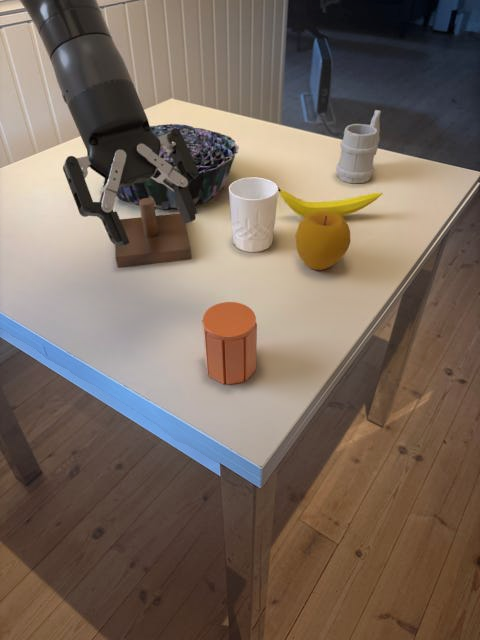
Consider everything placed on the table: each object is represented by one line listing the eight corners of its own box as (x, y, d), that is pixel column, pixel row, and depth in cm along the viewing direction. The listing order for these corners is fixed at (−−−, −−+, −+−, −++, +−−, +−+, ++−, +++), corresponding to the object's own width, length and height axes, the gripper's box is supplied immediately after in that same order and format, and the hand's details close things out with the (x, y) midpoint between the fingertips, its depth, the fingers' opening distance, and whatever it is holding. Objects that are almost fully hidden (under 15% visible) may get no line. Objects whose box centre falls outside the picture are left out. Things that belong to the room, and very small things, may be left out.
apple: (334, 287, 74) (342, 237, 68) (284, 271, 77) (287, 222, 72) (353, 259, 80) (361, 210, 74) (305, 245, 83) (310, 198, 77)
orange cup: (210, 387, 59) (206, 340, 54) (203, 352, 64) (199, 305, 59) (259, 379, 60) (261, 332, 55) (249, 345, 65) (249, 298, 60)
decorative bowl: (144, 161, 114) (135, 118, 107) (256, 169, 105) (254, 121, 99) (83, 213, 95) (67, 164, 89) (212, 227, 87) (205, 174, 81)
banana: (379, 221, 89) (386, 189, 85) (275, 223, 89) (277, 191, 84) (375, 213, 91) (382, 181, 87) (274, 215, 91) (275, 183, 86)
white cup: (280, 233, 86) (282, 180, 79) (270, 257, 80) (272, 202, 74) (237, 227, 88) (236, 174, 81) (224, 250, 82) (222, 196, 75)
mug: (328, 177, 103) (335, 119, 95) (357, 159, 109) (366, 103, 101) (360, 187, 99) (370, 128, 91) (388, 168, 106) (399, 111, 98)
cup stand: (117, 267, 79) (108, 223, 73) (117, 229, 87) (108, 188, 82) (191, 258, 80) (187, 215, 75) (183, 222, 89) (179, 181, 84)
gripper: (39, 91, 47) (108, 249, 49) (168, 65, 53) (224, 207, 56) (32, 121, 53) (94, 259, 56) (148, 95, 60) (198, 220, 62)
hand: (158, 233), depth 56 cm, fingers open, 8 cm apart
